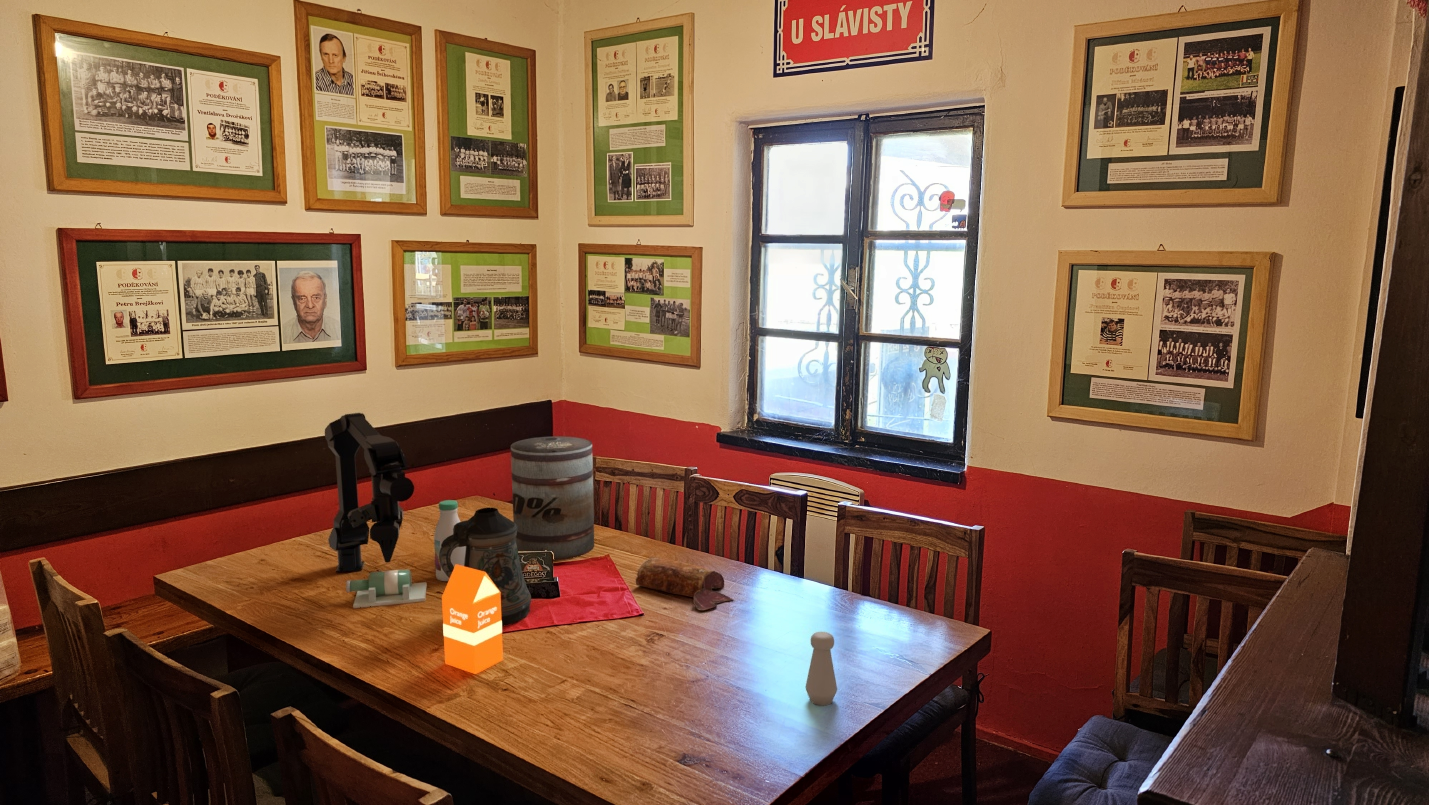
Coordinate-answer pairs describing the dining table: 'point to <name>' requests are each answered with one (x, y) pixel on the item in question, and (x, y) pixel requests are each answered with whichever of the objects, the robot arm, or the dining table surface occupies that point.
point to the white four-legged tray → (391, 596)
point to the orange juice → (472, 620)
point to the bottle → (382, 582)
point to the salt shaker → (821, 670)
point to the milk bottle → (443, 531)
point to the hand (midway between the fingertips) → (389, 556)
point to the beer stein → (491, 558)
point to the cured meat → (683, 581)
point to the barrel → (553, 495)
